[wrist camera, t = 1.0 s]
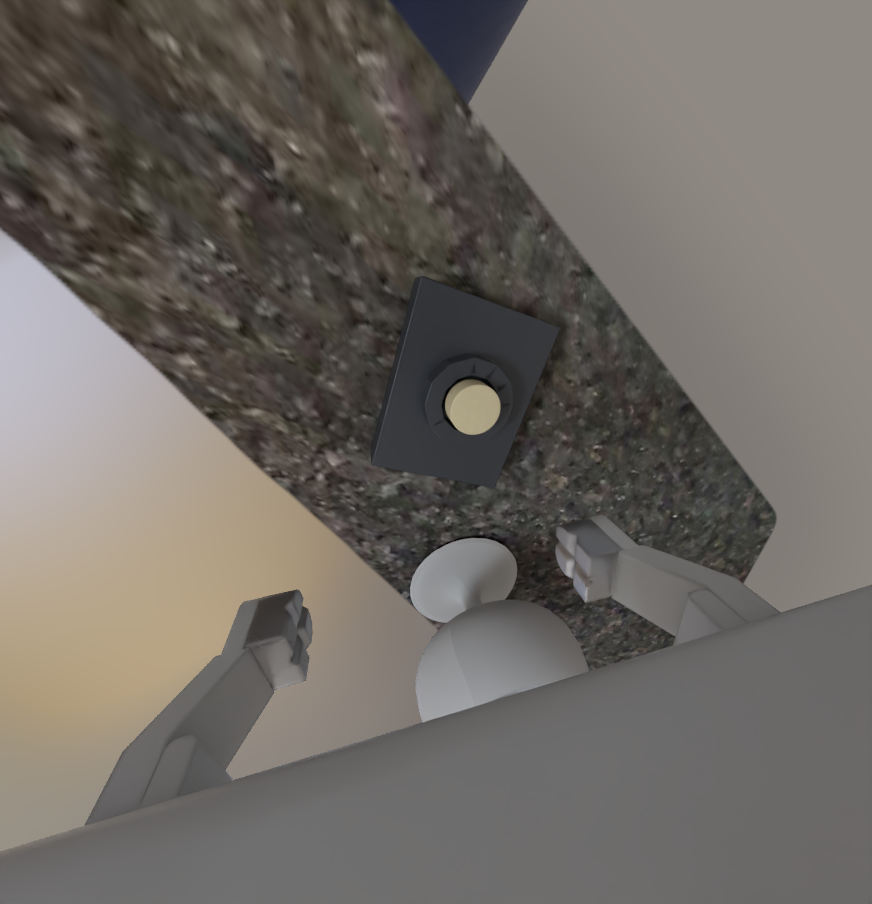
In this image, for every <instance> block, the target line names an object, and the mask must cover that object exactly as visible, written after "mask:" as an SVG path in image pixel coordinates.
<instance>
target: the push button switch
mask: <svg viewBox="0 0 872 904" xmlns="http://www.w3.org/2000/svg"><path fill="white" fill-rule="evenodd" d="M500 407H501V406H500V400H499V397H498V395H497V394H496V392H495V391H494V390H493V389H492V388H490V387H489V386H487V385H486V384H484V383H483V382H481V381H479V380H475V379H467V380H463V381H461V382H459V383H457V384H456V385H455V386H453V387H452V388H451V390H450V391H449V393H448V395H447V397H446V401H445V410H446V414H447V416H448V418H449V419H450V420H451V422H452V423H453V425H454V426H455V427H456V428H457V429H458V430H459V431H461V432H463V433H465V434H469V435H476V434H480V433H483V432H485V431H487V430H489V429H490V428H491V427H492V426H493V425H494V424H495V422H496V421H497V419H498V417H499V414H500Z"/></svg>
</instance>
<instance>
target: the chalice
mask: <svg viewBox="0 0 872 904" xmlns="http://www.w3.org/2000/svg"><path fill="white" fill-rule="evenodd" d="M516 578H517V565H516V560H515V558H514V556H513V555H512V553H511V552H510V551H509V550H508V549H507V548H506V547H505V546H504V545H502V544H500V543H498V542H496V541H493V540H489V539H485V538H469V539H462V540H458V541H455V542H452V543H449V544H446V545H445V546H443V547H441V548H439V549H437V550H436V551H434V552H433V553H432V554H430V555H429V556H428V557H427V558H426V559H425V560H424V561H423V562H422V563H421V564H420V566H419V567H418V568H417V570H416V572H415V574H414V576H413V578H412V582H411V586H410V594H411V599H412V602H413V604H414V606H415V607H416V609H417V610H418V611H419V612H420V613H421V614H423V615H424V616H425V617H427V618H429V619H432V620H434V621H437V622H444V623H446V624H445V625H443V626H442V627H441V628H440V629H439V631H438V632H437V633H436V634H435V635H434V636H433V637H432V639H431V640H430V642H429V644H428V645H427V647H426V649H425V651H424V653H423V655H422V656H421V658H420V662H419V667H418V671H417V676H416V683H415V686H416V697H417V702H418V707H419V711H420V715H421V718H422V721H423V722H426V721H429V720H432V719H435V718H439V717H442V716H445V715H448V714H452V713H455V712H458V711H462V710H465V709H468V708H471V707H475V706H478V705H481V704H484V703H488V702H491V701H494V700H498V699H501V698H504V697H507V696H511V695H514V694H517V693H520V692H524V691H527V690H530V689H533V688H537V687H540V686H543V685H546V684H550V683H553V682H556V681H559V680H563V679H566V678H569V677H572V676H576V675H579V674H582V673H586V672H589V669H588V666H587V663H586V660H585V658H584V655H583V653H582V650H581V648H580V646H579V644H578V642H577V640H576V639H575V637H574V635H573V634H572V632H571V631H570V629H569V628H568V626H567V625H566V624H565V622H564V621H562V620H561V619H560V618H559V617H557V616H556V615H555V614H554V613H552V612H551V611H550V610H549V609H546V608H544V607H542V606H539V605H537V604H534V603H531V602H527V601H522V600H505V599H506V597H507V596H508V595H509V593H510V592H511V590H512V588H513V586H514V584H515V581H516Z"/></svg>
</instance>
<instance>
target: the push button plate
mask: <svg viewBox="0 0 872 904" xmlns="http://www.w3.org/2000/svg"><path fill="white" fill-rule="evenodd" d="M559 330H560V327H559V326H556V325H553V324H550V323H548V322H545V321H542V320H540V319H537V318H534V317H531V316H529V315H526V314H523V313H521V312H518V311H515V310H513V309H510V308H507V307H504V306H502V305H499V304H496V303H494V302H491V301H488V300H486V299H483V298H480V297H477V296H475V295H472V294H469V293H467V292H464V291H461V290H459V289H456V288H453V287H450V286H448V285H445V284H442V283H440V282H437V281H434V280H432V279H429V278H426V277H423V276H421V277H417V278H415V281H414V285H413V289H412V293H411V296H410V300H409V304H408V308H407V312H406V316H405V320H404V323H403V327H402V331H401V335H400V339H399V343H398V347H397V351H396V354H395V358H394V362H393V366H392V370H391V374H390V378H389V382H388V385H387V389H386V393H385V397H384V401H383V405H382V409H381V412H380V416H379V420H378V424H377V428H376V432H375V436H374V440H373V443H372V447H371V464H372V465H373V466H379V467H384V468H390V469H395V470H400V471H406V472H411V473H417V474H422V475H427V476H433V477H438V478H444V479H449V480H454V481H460V482H465V483H471V484H476V485H482V486H487V487H492V488H494V487H495V485H496V482H497V480H498V478H499V475H500V473H501V470H502V468H503V465H504V463H505V461H506V458H507V456H508V453H509V451H510V449H511V446H512V444H513V441H514V439H515V437H516V434H517V432H518V429H519V427H520V424H521V422H522V420H523V417H524V415H525V412H526V410H527V408H528V405H529V403H530V400H531V398H532V395H533V393H534V391H535V388H536V386H537V383H538V381H539V379H540V376H541V374H542V371H543V369H544V366H545V364H546V362H547V359H548V357H549V354H550V352H551V350H552V347H553V345H554V342H555V340H556V338H557V335H558V333H559ZM467 379H475V380H479V381H481V382H483V383H484V384H486V385H487V386H489V387H490V388H492V389H493V390H494V391H495V392H496V394H497V395H498V397H499V400H500V406H501V407H500V414H499V417H498V419H497V421H496V422H495V424H494V425H493V426H492V427H491V428H490V429H489V430H487V431H485V432H483V433H480V434H476V435H469V434H465V433H463V432H461V431H459V430H458V429H457V428H456V427H455V426H454V425H453V423H452V422H451V420H450V419H449V418H448V416H447V414H446V410H445V401H446V397H447V395H448V393H449V391H450V390H451V388H452V387H453V386H455V385H456V384H457V383H459V382H461V381H463V380H467Z"/></svg>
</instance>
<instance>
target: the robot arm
mask: <svg viewBox="0 0 872 904" xmlns="http://www.w3.org/2000/svg"><path fill="white" fill-rule="evenodd" d="M556 536H557V538H558V539H559V540H560V541H559V542H558V544H557V545H556V558H557V561H558V564H559V566H560V568H561V570H562V571H563V573H564V574H565V575H566V576H568V577H570V578H572V579H574V581H573V586H574V588H575V589H576V591H577V592H578V593H579V595H580V596H581V597H582V599H583V600H584V601H585V603H587V602H592V601H596V600H600V599H604V598H608V597H612V598H613V599H614V600H616V601H618V602H619V603H621V604H623V605H624V606H626V607H628V608H629V609H631V610H633V611H634V612H636V613H637V614H639V615H641V616H642V617H644V618H646V619H647V620H649V621H651V622H652V623H654V624H656V625H657V626H659V627H661V628H662V629H664V630H666V631H667V632H669V633H671V634H672V635H674V636H676V637H675V641H674V644H673V646H670V647H667V648H664V649H661V650H657V651H654V652H651V653H648V654H644V655H641V656H638V657H634V658H631V659H628V660H625V661H621V662H618V663H615V664H612V665H608V666H605V667H602V668H599V669H595V670H592V671H589V672H586V673H582V674H579V675H576V676H572V677H569V678H566V679H563V680H559V681H556V682H553V683H550V684H546V685H543V686H540V687H537V688H533V689H530V690H527V691H524V692H520V693H517V694H514V695H511V696H507V697H504V698H501V699H498V700H494V701H491V702H488V703H484V704H481V705H478V706H475V707H471V708H468V709H465V710H462V711H458V712H455V713H452V714H448V715H445V716H442V717H439V718H435V719H432V720H429V721H426V722H422V723H419V724H416V725H413V726H409V727H406V728H403V729H399V730H396V731H393V732H390V733H386V734H383V735H380V736H377V737H373V738H370V739H367V740H364V741H360V742H357V743H354V744H350V745H348V746H344V747H341V748H337V749H334V750H331V751H327V752H324V753H321V754H318V755H314V756H311V757H308V758H305V759H301V760H298V761H295V762H291V763H288V764H285V765H282V766H278V767H275V768H272V769H269V770H265V771H262V772H259V773H255V774H252V775H249V776H246V777H243V778H239V779H236V780H233V779H232V778H231V776H230V775H229V774H228V773H227V772H226V768H227V766H228V765H229V763H230V762H231V760H232V759H233V757H234V755H235V754H236V752H237V751H238V749H239V748H240V746H241V744H242V743H243V741H244V739H245V738H246V736H247V735H248V733H249V732H250V730H251V729H252V727H253V725H254V723H255V722H256V720H257V719H258V717H259V716H260V714H261V713H262V711H263V709H264V708H265V706H266V705H267V703H268V702H269V700H270V698H271V697H272V695H273V694H274V690H277V689H281V688H284V687H287V686H290V685H294V684H297V683H300V682H303V681H306V676H307V670H308V663H309V655H308V653H307V651H306V649H307V648H308V646H309V645H310V644H311V641H312V620H311V616H310V613H309V611H308V609H307V608H305V607H303V606H302V603H303V597H302V594H301V592H300V591H299V590H294V591H288V592H284V593H279V594H275V595H270V596H266V597H262V598H259V599H254V600H250V601H245V602H243V603H242V604H241V605H240V607H239V610H238V612H237V615H236V617H235V620H234V622H233V625H232V628H231V630H230V633H229V635H228V638H227V641H226V643H225V646H224V648H223V651H222V654H221V655H219V656H216V657H214V658H213V659H212V660H211V661H210V663H209V664H207V666H206V667H205V668H204V669H203V670H202V671H201V672H200V673H199V674H198V675H197V676H196V677H195V678H194V679H193V680H192V681H191V682H190V683H189V684H188V685H187V686H186V687H185V688H184V689H183V690H182V691H181V692H180V693H179V695H177V696H176V698H174V699H173V700H172V702H171V703H170V704H169V705H168V706H167V707H166V708H165V709H164V710H163V711H162V712H161V713H160V714H159V715H158V716H157V717H156V718H155V719H154V720H153V721H152V722H151V723H150V724H149V725H148V726H147V727H146V728H145V729H144V730H143V731H142V732H141V733H140V734H139V736H137V738H136V739H135V740H134V741H133V742H132V743H131V744H130V745H129V746H128V747H127V748H126V749H125V750H124V751H123V752H122V754H121V756H120V758H119V760H118V762H117V764H116V766H115V768H114V770H113V771H112V773H111V775H110V777H109V779H108V781H107V783H106V785H105V787H104V789H103V791H102V793H101V794H100V796H99V799H98V800H97V802H96V805H95V806H94V808H93V810H92V812H91V814H90V816H89V818H88V820H87V821H86V823H85V825H84V826H82V827H79V828H75V829H72V830H69V831H66V832H62V833H59V834H56V835H52V836H49V837H46V838H43V839H39V840H36V841H33V842H30V843H27V844H23V845H20V846H17V847H14V848H10V849H7V850H4V851H0V904H872V585H870V586H867V587H863V588H860V589H857V590H853V591H850V592H847V593H844V594H840V595H837V596H834V597H831V598H828V599H824V600H821V601H818V602H814V603H811V604H808V605H805V606H801V607H798V608H795V609H792V610H788V611H785V612H782V613H781V612H779V611H778V610H777V609H776V608H774V607H773V606H771V605H770V604H769V603H768V602H766V601H765V600H764V599H762V598H761V597H760V596H758V595H757V594H756V593H754V592H753V591H752V590H751V589H749V588H748V587H747V586H745V585H744V584H743V583H741V582H740V581H739V580H737V579H736V578H734V577H731V576H729V575H726V574H723V573H720V572H717V571H715V570H712V569H709V568H706V567H703V566H701V565H698V564H695V563H692V562H690V561H687V560H684V559H681V558H678V557H676V556H673V555H670V554H667V553H664V552H662V551H659V550H656V549H653V548H650V547H648V546H645V545H641V546H638V545H637V544H636V543H635V542H634V541H633V540H632V539H630V538H629V537H628V536H627V535H626V534H625V533H624V532H623V531H622V530H620V529H619V528H618V527H617V526H616V525H615V524H614V523H613V522H612V521H610V520H609V519H608V518H607V517H606V516H604V515H597V516H593V517H589V518H587V519H582V520H578V521H574V522H570V523H567V524H563V525H559V526H558V527H557V529H556Z"/></svg>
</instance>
